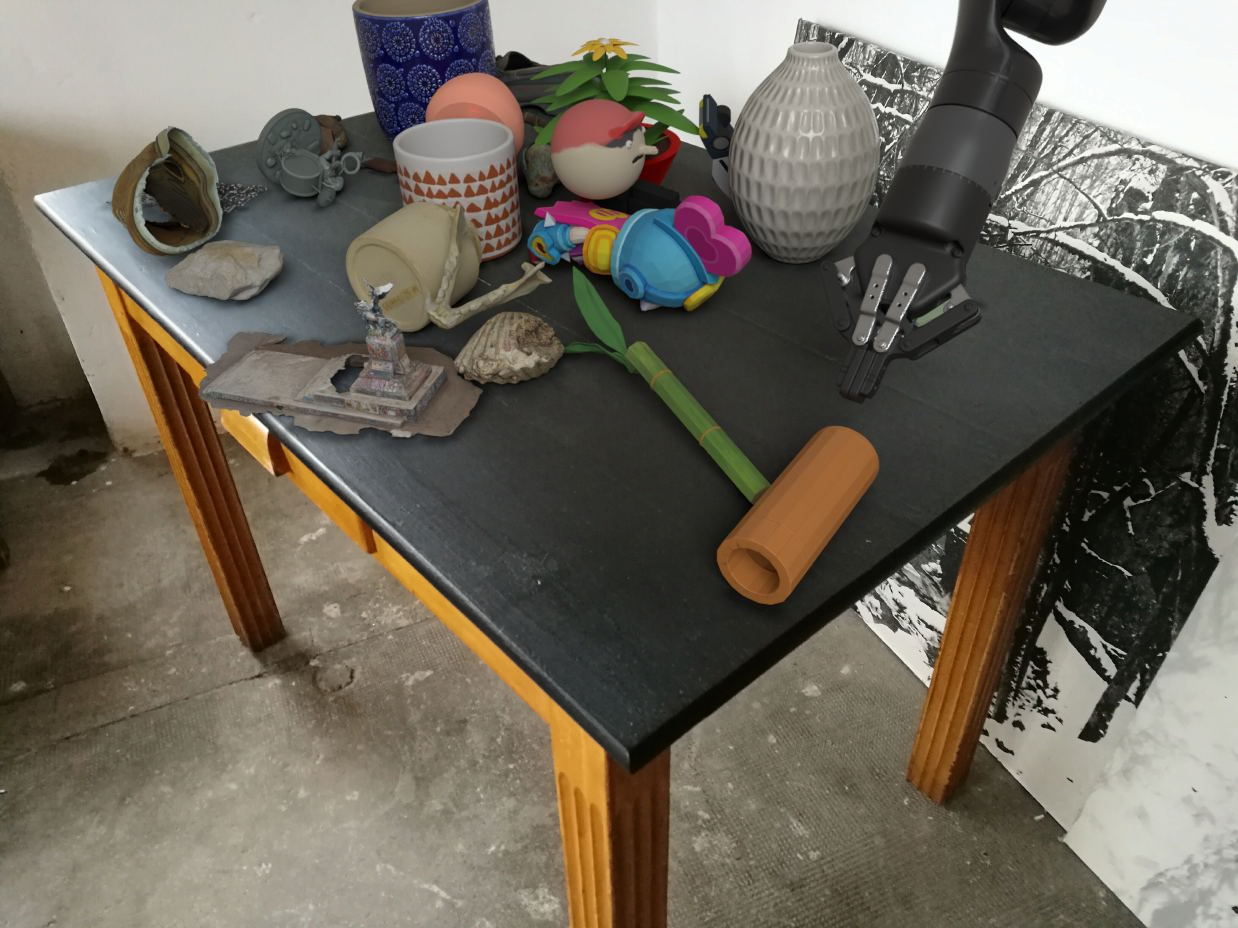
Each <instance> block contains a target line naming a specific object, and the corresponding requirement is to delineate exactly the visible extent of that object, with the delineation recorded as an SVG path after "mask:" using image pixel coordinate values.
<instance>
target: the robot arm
mask: <svg viewBox="0 0 1238 928" xmlns="http://www.w3.org/2000/svg"><path fill="white" fill-rule="evenodd" d="M957 1H958V2H957V8H956V9H957V10H956V17H955V26H954V32H953V37H952V41H951V45H950V51H949V54H948V57H947V61H946V64H945V66H944V69H943V70H942V71H943V72H942V74H941V76H940V79H939V81H938V83H937V86H936V89H935V91H934V92H933V95H932V97H931V100H930V102H929V103H928V106H927V109H926V111H925V113H924V115H923V117H922V119H921V121H920V122H919V124H918V126H917V127H916V129H915V131H914V132H913V134H912V135H911V137H910V139H909V141H908V143H907V145H906V148H905V150H904V152H903V154H902V157H901V158H900V161H899V163H898V166H897V168H896V170H895V172H894V175H893V177H892V179H891V181H890V184H889V186H888V188H887V190H886V193H885V195H884V198H883V200H882V202H881V203H880V206H879V208H878V211H877V213H876V215H875V218H874V219H873V222H872V224H871V227H870V231H869V233H868V235H867V236H866V237H865V239H864V240H863V241H861V242H860V243H859V244H858V245H857V246H856V248H855V250H854V252H853V255H851V256H848V257H845V258H844V259H841V260H838V261H836V262H834V261H833V260H832V259H824V260H822V261H821V262H820V264H819V266H818V270H819V274H820V277H821V282H822V285H823V289H824V293H825V296H826V299H827V300H826V301H827V304H828V307H829V312H830V314H831V315H830V316H831V318H832V322H833V327H834V328H835V329H836V331H837V332H838V333H839V334H840V335H841V337H842V338H844V340H847V341H848V342H849V348H848V351H847V353H846V355H845V357H844V360H843V362H842V365H841V367H840V368H839V371H838V373H837V376H836V381H835V382H836V384H835V385H836V386H837V387H838V388H839V390H838V394H839V395H840V396H841V397H842V398H843V399H844V400H847V401H849V402H853V403H856V404H859V405H863V404H864V402H865V400H866V399H868V400H871V399H872V398H873V397H875V396H876V394H877V392H878V390H879V388H880V385H881V382H882V381H883V378H884V377H885V374H886V372H887V369H888V367H889V365H890V364H891V363H892V362H893V361H894V360H898V359H900V360H901V359H908V361H917V360H919V359H920V358H923V357H924V356H926V355H928V354H929V353H931V352H933V351H935V350H936V349H937V348H940V347H941V346H943V345H945V344H947V342H949V341H952V340H953V339H954V338H956V337H958V336H960V335H961V334H963V333H964V332H965V333H966V331H968V330H970V329H972V328H973V327H975V326H977V325H978V324H980V322H981V321H982V318H983V316H982V312H981V308H980V306H979V304H978V302H977V301H976V300H975V299H973V298H971V297H970V294H969V293H968V292H967V291H966V289H965V286H967V285H966V284H967V265H968V263H969V260H970V258H971V256H972V254H973V252H974V249H975V247H976V245H977V243H978V240H979V238H980V236H981V234H982V232H983V229H984V226H985V224H986V223H987V220H988V218H989V216H990V213H991V211H992V209H993V206H994V204H995V203H996V201H998V199H999V196H1000V194H1001V193H1002V189H1003V185H1004V182H1005V180H1006V178H1007V174H1008V171H1009V168H1010V166H1011V162H1012V159H1013V155H1014V151H1015V149H1016V146H1017V144H1018V141H1020V137H1021V135H1022V132H1023V131H1024V128H1025V126H1026V123H1027V122H1028V119H1029V117H1030V115H1031V112H1032V110H1033V108H1034V106H1035V103H1036V102H1037V99H1038V96H1039V94H1040V91H1041V89H1042V84H1043V80H1044V73H1043V69H1042V66H1041V64H1040V63H1039V62H1038V60H1037V58H1036V57H1035V56H1034V55H1033V54H1032V53H1030V52H1029V51H1028V50H1027V49H1026V48H1024V47H1023V46H1022V45H1021V44H1019V42H1017V41H1016V40H1015V39H1014V38H1012V37H1011V35H1009V34H1008V32H1007V30H1008V31H1011V32H1013V33H1016V34H1019V35H1021V36H1024V37H1026V38H1028V39H1030V40H1032V41H1035V42H1038V43H1041V44H1043V45H1047V46H1051V47H1059V46H1064V45H1068V44H1070V43H1072V42H1074V41H1076V40H1078V39H1079V38H1081V37H1083V36H1084V35H1085V34H1086V33H1087V32H1089V30H1090V29H1092V27H1093V26H1094V25H1095V24H1096V22H1097V21H1098V19H1099V18H1100V16H1101V14H1102V13H1103V10H1104V8H1105V6H1106V4H1107V2H1108V0H957ZM855 274H856V275H857V279H858V283H859V287H860V292H861V295H862V297H863V299H862V302H861V305H860V309H859V317H858V320H857V323H856V321H855V317H854V313H853V310H852V306H851V302H850V299H849V295H848V292H847V290H848V289H851V287H852V286H853V284H854V276H855ZM949 299H950V301H949V302H948V303H946V304H945V306H944V308H943V312H944V313H943V314H941V315H939V316H938V317H936V318H934V319H933V320H931V321H929V322H928V323H926V324H924V325H922V326H920V327H917V328H916V329H914V327H915V326H916V325H915V323H916V321H917V319H918V318H920V317H922V316H924V315H926V314H927V313H929V312H931V311H932V310H934V309H935V308H937V307H938V306H940V305H941V304H943V303H944V302H946V301H947V300H949ZM913 329H914V330H913Z"/></svg>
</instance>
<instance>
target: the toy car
mask: <svg viewBox="0 0 1238 928" xmlns="http://www.w3.org/2000/svg"><path fill="white" fill-rule="evenodd" d="M731 122H732V110H731V108H730V107H729V106H728V105H726V104H719V105H718V103H717V101H716V100H715V99H714V96H712V95H711V93H708V94H707V93H705V94H703V96H702V99H701V100H699V103H698V128H699V135H698V136H699V138H700V141H701V142H702V145H703V146H704V148H705V150H706V152H707V154H708V155H709V157H710V159H711V177H712V178H711V180H712V181H713V182H714V183H716V185H717V186H718V188H719V189H720V190H721V191H722V192H723V193H724V194H725V195H726V196H727V197H728V198H729V199H730V200H732V198H731V195H730V189H729V181H728V156H729V149H730V142H731V137H732V134H733V130H734V127H733V125H732V124H731Z"/></svg>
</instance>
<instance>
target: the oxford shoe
mask: <svg viewBox="0 0 1238 928" xmlns="http://www.w3.org/2000/svg"><path fill="white" fill-rule="evenodd" d="M218 183H219V175H218V171H217V167H216V163H215V161H214V160H213V158H212V156H210V154H209V152H208V151H206V150H205V149H204V148H203V147H202V146H201V145H200V144H199V143H198V142H197V141H196V140H194V138H193V136H192V135H190V133H189V132H187V131H186V130H184V129H181V128H179V127H176V126H173V125H168V126H167V127H166V128H163V130H161V131H160V132H159V133H157V135H156V137H155V140H154V141H151V142H150V143H148V144H147V145H146V146H144V148H143V149H142V150H141V151H140V152H139V154H137V155H136V156H135V157H134V158H133V159H132V160H131V161H129V163H128V164H127V165H126V166H125V167H124V169H123V170H122V171H121V173H120V175H119V176H118V178H117V180H116V182H115V185H114V187H113V191H112V195H111V213H112V215H113V217H114V218H115V219H116V220H117V222H118V223H120V224H122V225H123V228H124V229H126V230H127V231H128V233H129V236H130V237H131V239H132V241H133V242H134V244H135V245H136V246H137V247H138V248H140V249H141V250H143V251H144V252H145V253H147V254H150V255H153V256H157V257H167V256H168V257H170V256H175V255H181V254H184V253H188V252H189V251H192V250H194V249H195V248H197V247H199V246H201V245H203V244H204V243H205V242H206V243H207V242H208V241H210V240H211V239H213V237H215V236H216V235H217V234H218V232H220V229H221V226H222V220H223V215H222V214H223V213H224V211H223V208H221V207H222V206H221V202H220V201H219V200H220V199H219V191H217V184H218ZM144 192H145V193H146V194H145V195H148V194H149V195H151V196H150V197H153V198H154V199H153V198H152V199H153V200H154V201H156V202H158V203H157V204H159V205H158V206H160V207H159V208H161V209H160V211H159V212H163V213H164V214H166V215H168V216H170V218H169V219H168V221H159V222H158V221H156V220H152V221H151V220H149V219H145V218H144V217H143V213H144V212H143V210H142V209H143V205H142V204H143V203H142V204H141V202H142V201H141V200H142V198H143V196H142V194H143V193H144ZM143 195H144V194H143ZM149 195H148V196H149ZM141 197H142V198H141ZM141 205H142V206H141ZM136 209H137V212H136ZM206 243H205V244H206Z"/></svg>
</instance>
